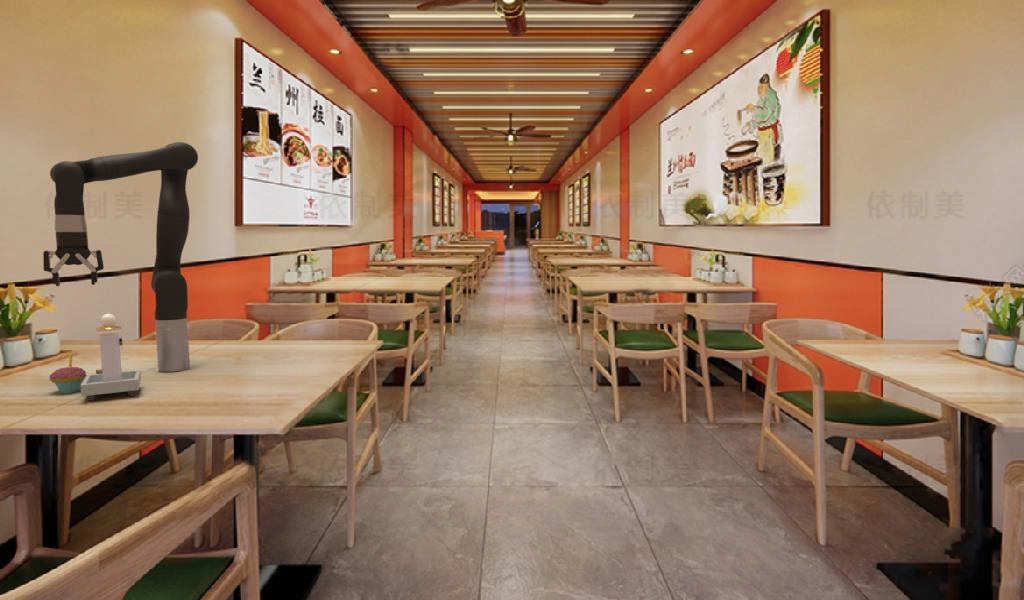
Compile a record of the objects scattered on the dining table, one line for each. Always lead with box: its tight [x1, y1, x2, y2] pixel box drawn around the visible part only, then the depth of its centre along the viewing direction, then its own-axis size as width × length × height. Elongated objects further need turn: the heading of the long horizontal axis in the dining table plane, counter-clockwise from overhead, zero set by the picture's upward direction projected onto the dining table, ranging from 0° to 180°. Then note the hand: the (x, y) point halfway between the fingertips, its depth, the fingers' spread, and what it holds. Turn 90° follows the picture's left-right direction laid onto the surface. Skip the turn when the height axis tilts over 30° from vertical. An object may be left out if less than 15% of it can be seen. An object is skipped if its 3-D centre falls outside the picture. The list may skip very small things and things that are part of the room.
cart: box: [80, 369, 142, 402], centre depth 165 cm, size 13×13×5 cm
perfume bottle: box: [95, 313, 124, 382], centre depth 164 cm, size 6×6×20 cm
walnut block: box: [95, 368, 102, 374], centre depth 179 cm, size 4×4×4 cm
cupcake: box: [49, 350, 87, 394], centre depth 168 cm, size 9×8×12 cm
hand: (75, 285), depth 175 cm, fingers open, 8 cm apart
